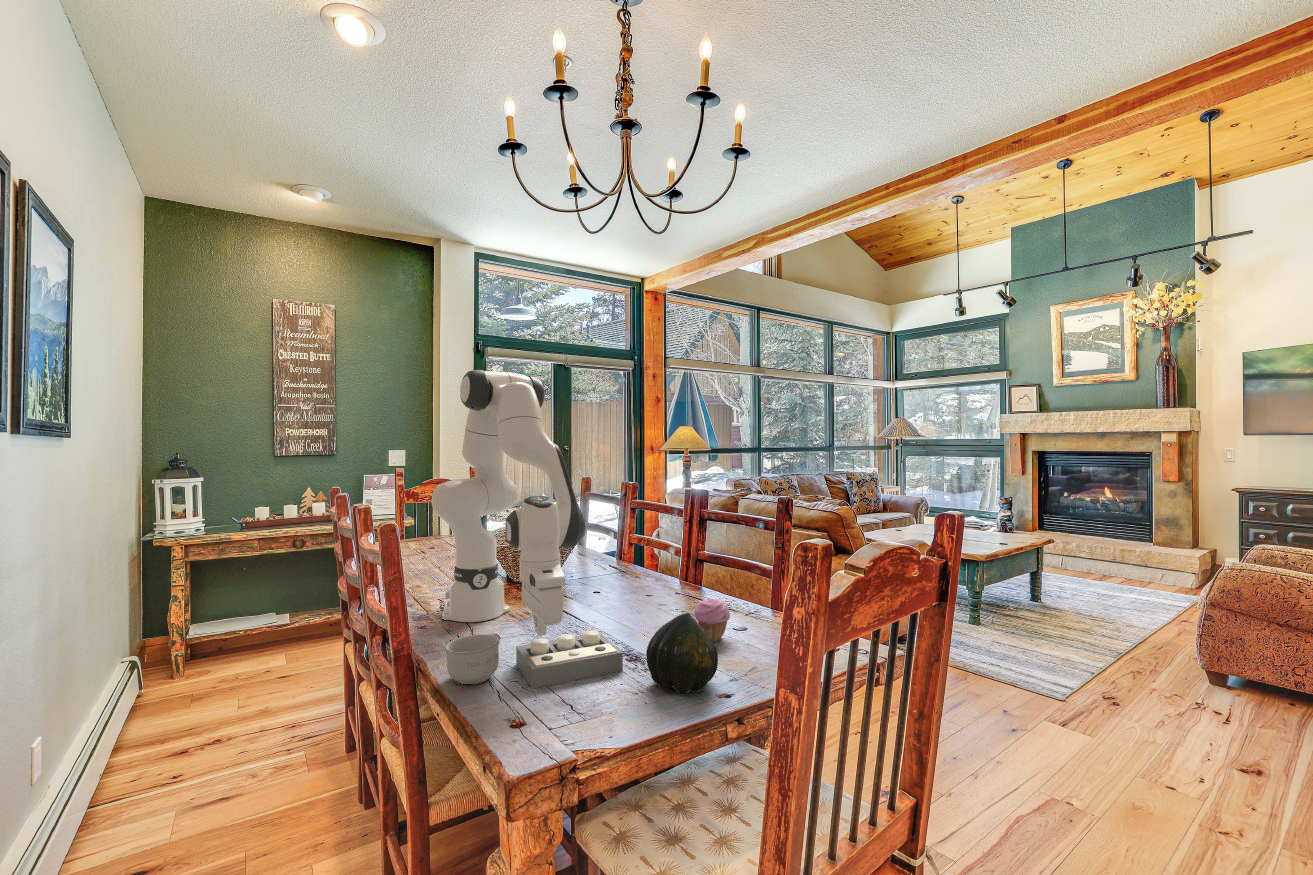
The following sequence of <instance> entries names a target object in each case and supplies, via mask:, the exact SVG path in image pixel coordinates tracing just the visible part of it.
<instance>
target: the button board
mask: <svg viewBox="0 0 1313 875" xmlns="http://www.w3.org/2000/svg"><path fill="white" fill-rule="evenodd" d="M515 651H516V652H515V654H516V655H515V657H516V658H515V660H516V661H515V662H516V664H515V665H516V666H517V668H518V669H519V670H520V672H521V673H522V676H524V678H525V679H526V681H527V683H528V684H529V686H530V687H531V689H532V690H533V689H536V688H537V689H538V688H542V687H547V686H551V685H557V684H562V683H568V682H573V681H577V680H578V681H579V680H583V679H587V678H592V677H593V678H594V677H598V676H602V675H607V674H611V673H612V674H613V673H617V672H618V673H619V672H622V671H624V670H623V666H624V665H623V664H624V663H623V662H624V661H623V660H624V659H623V657H624V654H623V653H624V652H623V651H622V650H621V649H619V648H618V647H617V646H616V645H615V644H614V643H613V642H612V641H610V640H609V639H608V638H606V636H605V635H603V634H602V633H601V632H600V645H596V646H590V647H583V646H582V635H576V636H575V649H573V650H567V651H561V652H558V651H557V639H553V640H549V654H544V655H538V656H532V657H531V655H530V643H529V644H528V643H527V644H523V645H521V644H520V645H516V648H515Z"/></svg>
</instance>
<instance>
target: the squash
mask: <svg viewBox="0 0 1313 875" xmlns="http://www.w3.org/2000/svg"><path fill="white" fill-rule="evenodd" d="M645 653H646V664H647V669H648V671H649V673H650V677H651V679H652V681H653V682H654V683H655V684H656V685H658V686H661V687H666V688H669V689H670V688H674V690H675V692H676V693H677V694H679V695H680V696H681V695H682V696H685V695H687V694H689V692H701V691H702V690H704V689H705V687H706V686H707V684H708V683H709V682H710V681H711V680H712V679H713V678H714V676H715V674H716V672H717V669H718V666H719V665H718V664H719V655H718V650H717V647H716V645H715V642H713V641H712V640H711V638H710V637H709V636H708V635H707V633H706V632H705V631H704V630H703V629H702V628H701V626H700V625H699V624H698V621H697V619H696V618H695V617H694V616H692V615H691V614H690V612H686V613H682V614H679V615H677V616H675V617H674V618H672V619H671V620H670V621H668V622H666V623H665V624H664V625H662V626H660V627H659V629H657V630H656V632H655V633H654V634H653V636H652V637H651V638H650V640H649V643H648V645H647V646H646V652H645Z"/></svg>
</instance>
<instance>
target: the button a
mask: <svg viewBox="0 0 1313 875" xmlns="http://www.w3.org/2000/svg"><path fill="white" fill-rule="evenodd" d="M549 641H550V640H549V639H547V638H535V639H532V640H531V641H530V643H529V644H530V655H531V657H532V656H538V655H544V654H549Z"/></svg>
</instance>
